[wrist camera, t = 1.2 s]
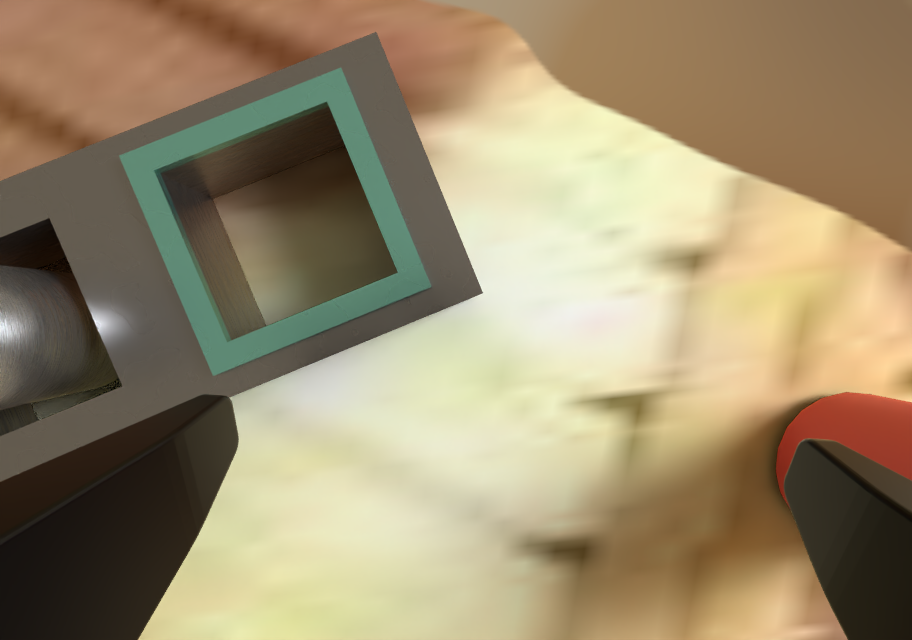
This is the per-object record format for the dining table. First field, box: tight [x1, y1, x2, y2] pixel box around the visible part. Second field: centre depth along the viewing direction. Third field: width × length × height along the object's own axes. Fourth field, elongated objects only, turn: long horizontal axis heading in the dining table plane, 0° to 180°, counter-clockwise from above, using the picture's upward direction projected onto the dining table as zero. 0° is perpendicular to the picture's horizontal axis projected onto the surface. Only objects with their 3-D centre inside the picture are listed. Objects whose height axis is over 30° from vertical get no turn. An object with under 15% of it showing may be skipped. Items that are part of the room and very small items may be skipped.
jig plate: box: [0, 32, 483, 481], centre depth 19 cm, size 22×10×4 cm, turn 112°
